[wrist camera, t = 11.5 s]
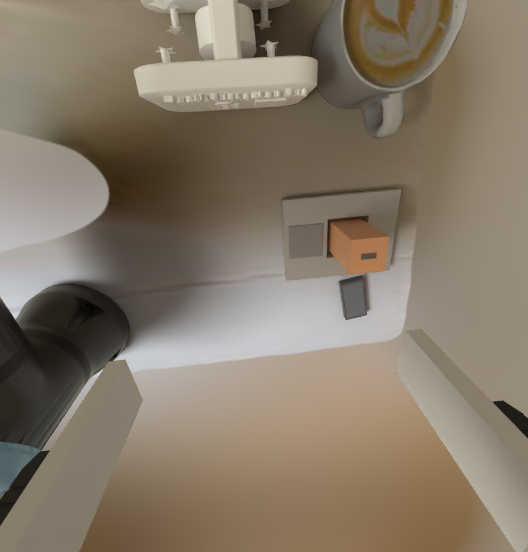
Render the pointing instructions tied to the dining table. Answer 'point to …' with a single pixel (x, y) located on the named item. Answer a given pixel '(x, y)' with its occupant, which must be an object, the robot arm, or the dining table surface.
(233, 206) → the dining table surface
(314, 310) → the dining table surface
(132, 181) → the dining table surface
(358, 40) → the coffee mug
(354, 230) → the block
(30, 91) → the dining table surface
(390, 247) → the outlet plate
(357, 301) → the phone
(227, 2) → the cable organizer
